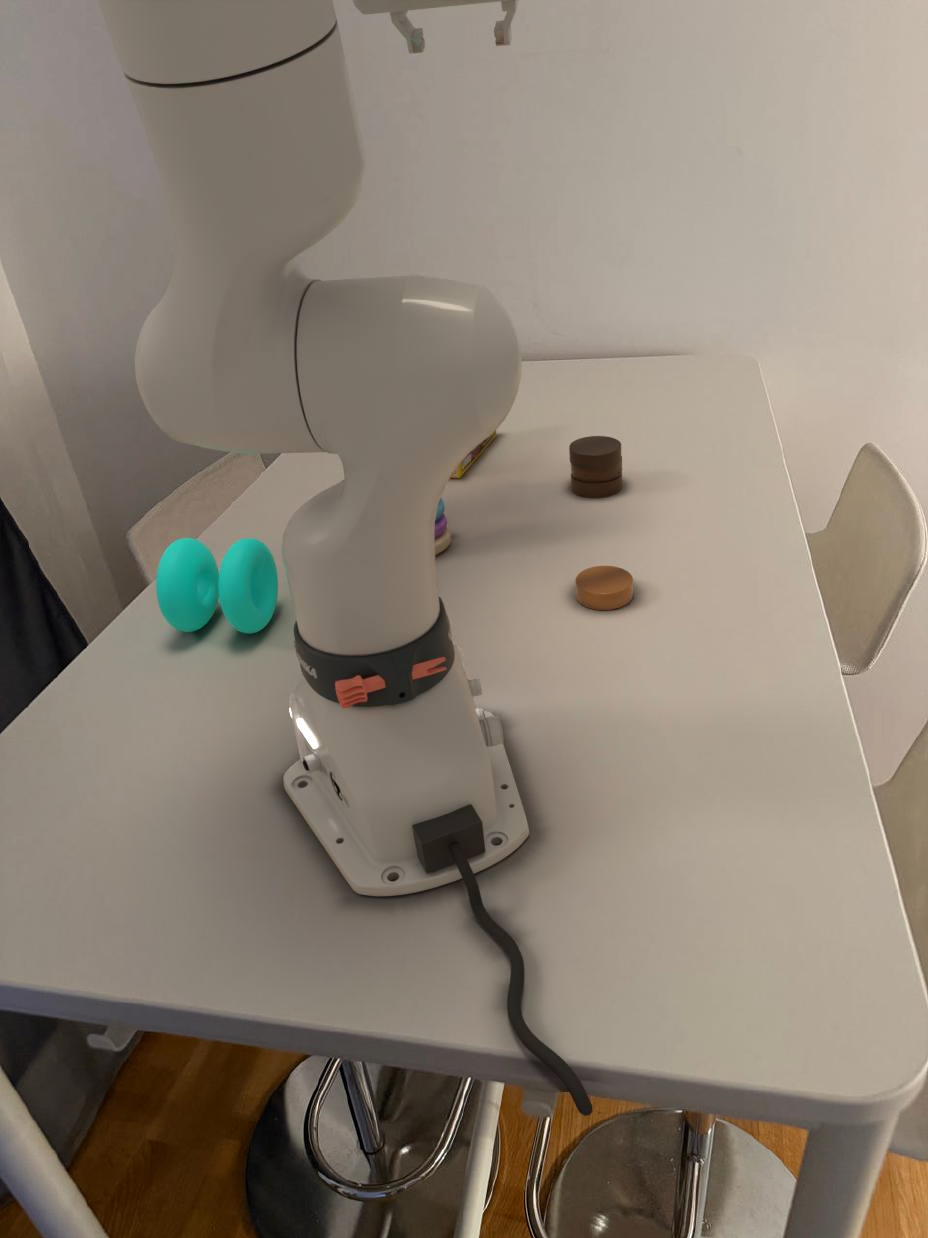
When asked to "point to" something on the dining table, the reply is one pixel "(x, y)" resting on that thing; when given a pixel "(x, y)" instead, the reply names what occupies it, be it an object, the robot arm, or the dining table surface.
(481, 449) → the candy box
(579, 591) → the oak chip
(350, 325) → the robot arm
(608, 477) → the chip pile
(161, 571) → the donuts
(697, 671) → the dining table surface
